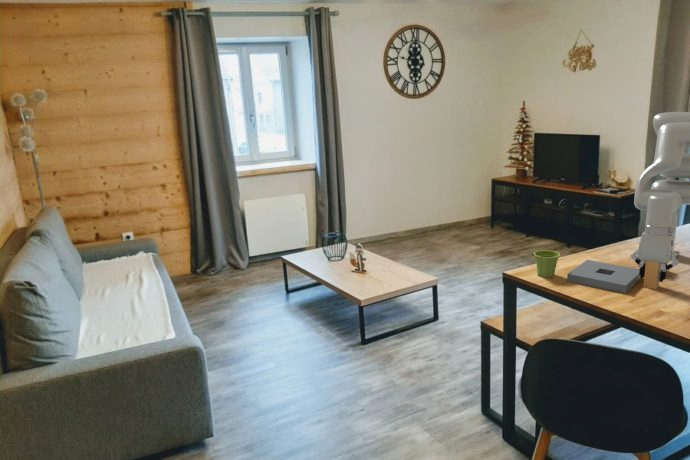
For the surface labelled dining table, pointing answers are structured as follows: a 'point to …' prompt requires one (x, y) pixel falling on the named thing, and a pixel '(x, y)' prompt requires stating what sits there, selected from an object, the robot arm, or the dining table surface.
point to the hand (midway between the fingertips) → (652, 278)
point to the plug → (652, 274)
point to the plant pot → (546, 262)
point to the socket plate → (605, 276)
